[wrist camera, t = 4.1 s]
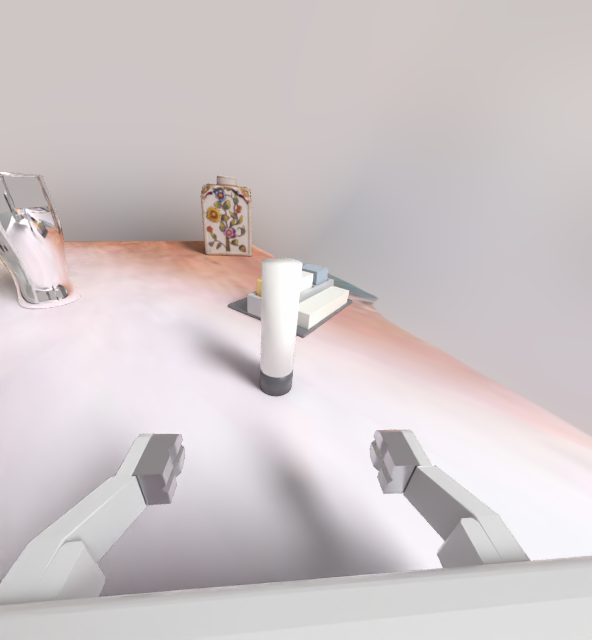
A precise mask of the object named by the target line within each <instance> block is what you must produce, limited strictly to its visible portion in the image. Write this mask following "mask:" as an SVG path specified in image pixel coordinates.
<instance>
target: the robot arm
mask: <svg viewBox="0 0 592 640" xmlns="http://www.w3.org/2000/svg"><path fill="white" fill-rule="evenodd" d="M374 438H375V440H374V441H373V442H372V443H371V446H370V457H371V461H372V464H373V466H374V467H375V468H376V469H377V470H378V471H379V472H378V476H377V478H378V480H379V483H380V486H381V488H382V491H383V494H392V493H404V494H403V495H404V496H405V497H406V498H407V499H408V500H409V502H410V503H411V504H412V505H413V506H414V507H415V508H416V509H417V511H418V512H419V513H420V514H421V515H422V516H423V517H424V518H425V519H426V521H427V522H428V523H429V524H430V525H431V526H432V527H433V528H434V530H435V531H436V532H437V533H438V534H439V535H440V536H441V537H442V539H443V540H444V541H445V542H444V543H443V544H442V546H441V547H440V549H439V550H438V553H437V556H438V558H439V560H440V562H441V565H442V567H443V568H438V569H426V570H414V571H402V572H390V573H378V574H366V575H354V576H342V577H330V578H319V579H307V580H295V581H283V582H271V583H259V584H247V585H235V586H223V587H211V588H199V589H187V590H175V591H163V592H151V593H139V594H127V595H115V596H103V597H99V596H100V593H101V591H102V589H103V586H104V584H105V581H106V578H105V575H104V574H103V572H102V571H101V569H100V568H99V566H98V565H97V563H98V562H99V561H100V559H101V558H102V557H103V556H104V555H105V554H106V553H107V551H108V550H109V549H110V548H111V547H112V546H113V545H114V543H115V542H116V541H117V540H118V539H119V538H120V537H121V535H122V534H123V533H124V532H125V531H126V530H127V529H128V527H129V526H130V525H131V524H132V523H133V522H134V521H135V519H136V518H137V517H138V516H139V515H140V514H141V513H142V511H143V510H144V509H145V508H146V505H157V504H170V503H171V501H172V498H173V495H174V492H175V489H176V486H177V482H176V477H177V476H178V475H179V474H180V473H181V471H182V468H183V464H184V459H185V449H184V447H183V446H182V445H181V443H182V440H183V439H182V435H181V434H140V435H139V436H138V437H137V438H136V440H135V441H134V443H133V445H132V447H131V448H130V450H129V452H128V454H127V456H126V457H125V459H124V461H123V463H122V465H121V466H120V468H119V470H118V472H117V473H116V475H115V476H114V477H109V478H108V479H107V480H106V481H105V482H103V483H102V484H101V485H100V486H98V487H97V488H96V489H95V490H93V491H92V492H91V493H90V494H88V495H87V496H86V497H85V498H83V499H82V500H81V501H80V502H78V503H77V504H76V505H75V506H73V507H72V508H71V509H70V510H69V511H67V512H66V513H65V514H64V515H62V516H61V517H60V518H59V519H57V520H56V521H55V522H54V523H52V524H51V525H50V526H49V527H47V528H46V529H45V530H44V531H42V532H41V533H40V534H39V535H37V536H36V537H35V538H34V539H33V540H31V541H30V542H29V543H28V544H27V546H26V547H25V549H24V550H23V551H22V553H21V554H20V556H19V557H18V559H17V560H16V561H15V563H14V564H13V566H12V567H11V569H10V570H9V571H8V573H7V574H6V576H5V577H4V579H3V580H2V581H1V583H0V640H592V556H582V557H570V558H558V559H546V560H534V561H530V559H529V558H528V557H527V555H526V554H525V552H524V551H523V549H522V548H521V546H520V545H519V544H518V542H517V541H516V539H515V538H514V536H513V535H512V534H511V532H510V531H509V529H508V528H507V526H506V525H505V524H504V522H503V521H502V519H501V518H500V516H499V515H498V514H496V513H495V512H494V511H493V510H491V509H490V508H489V507H488V506H486V505H485V504H484V503H483V502H481V501H480V500H479V499H478V498H476V497H475V496H474V495H472V494H471V493H470V492H469V491H467V490H466V489H465V488H464V487H462V486H461V485H460V484H459V483H457V482H456V481H455V480H453V479H452V478H451V477H450V476H448V475H447V474H446V473H445V472H443V471H442V470H441V469H440V468H438V467H437V466H433V465H432V464H431V462H430V460H429V459H428V457H427V455H426V454H425V452H424V450H423V449H422V447H421V445H420V444H419V442H418V440H417V438H416V437H415V435H414V433H413V432H412V431H411V430H377V431H376V432H375V433H374Z"/></svg>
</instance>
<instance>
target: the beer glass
mask: <svg viewBox="0 0 592 640" xmlns="http://www.w3.org/2000/svg"><path fill="white" fill-rule="evenodd" d="M0 259H1V261H2V262H3V263H4V265H5V266H6V268H7V269H8V270H9V272H10V274H11V276H12V278H13V280H14V282H15V285H16V289H17V294H18V300H19V304H20V305H21V306H22V307H25V308H31V309H42V308H51V307H57V306H62V305H65V304H69V303H71V302H74V301H76V300H77V299H79V298H80V296H81V295H80V292H79V291H78V289H77V287H76V286H75V284H74V282H73V281H72V279H71V277H70V274H69V272H68V268H67V263H66V255H65V246H64V239H63V233H62V227H61V223H60V220H59V216H58V213H57V210H56V207H55V205H54V202H53V200H52V197H51V195H50V193H49V191H48V188H47V186H46V183H45V182H44V178H43V176H42V175H33V174H21V173H9V172H0Z"/></svg>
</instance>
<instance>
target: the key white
mask: <svg viewBox="0 0 592 640" xmlns="http://www.w3.org/2000/svg"><path fill="white" fill-rule="evenodd" d="M312 283H313V273H309V272H305V271H302V274H301V285H300V293H302V292H304V291H306V290H308V289H310V288H312Z"/></svg>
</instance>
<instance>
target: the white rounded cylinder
mask: <svg viewBox="0 0 592 640" xmlns="http://www.w3.org/2000/svg"><path fill="white" fill-rule="evenodd" d="M301 274H302V263H301V262H300V261H297V260H294V259H288V258H267V259H264V260H262V293H261V366H260V387H261V389H262V391H263V392H264V393H266V394H268V395H271V396H281V395H284V394H286V393H288V392H289V391H290V389H291V387H292V376H293V364H294V353H295V342H296V330H297V319H298V308H299V297H300V285H301Z"/></svg>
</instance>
